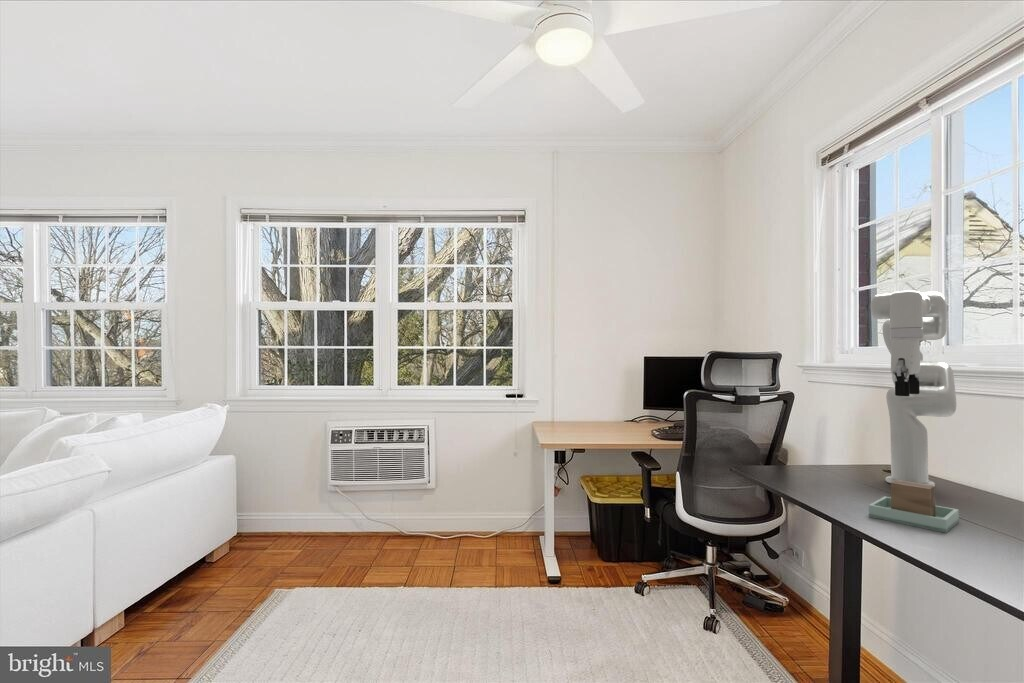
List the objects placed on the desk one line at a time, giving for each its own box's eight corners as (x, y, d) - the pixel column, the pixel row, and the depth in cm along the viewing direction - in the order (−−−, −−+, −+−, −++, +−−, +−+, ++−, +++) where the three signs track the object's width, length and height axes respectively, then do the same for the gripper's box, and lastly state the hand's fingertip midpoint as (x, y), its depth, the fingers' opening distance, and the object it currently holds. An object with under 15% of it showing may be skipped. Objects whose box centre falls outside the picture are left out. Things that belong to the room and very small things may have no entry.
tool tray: (884, 507, 142) (884, 496, 142) (958, 521, 130) (958, 509, 130) (868, 516, 134) (868, 505, 134) (946, 532, 122) (946, 520, 122)
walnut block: (897, 510, 136) (896, 479, 137) (935, 517, 130) (934, 485, 130) (891, 514, 133) (890, 482, 133) (930, 521, 127) (929, 489, 127)
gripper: (899, 335, 156) (900, 392, 156) (880, 334, 145) (882, 396, 145) (931, 334, 150) (932, 393, 150) (913, 333, 139) (915, 397, 139)
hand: (907, 394), depth 147 cm, fingers open, 9 cm apart
